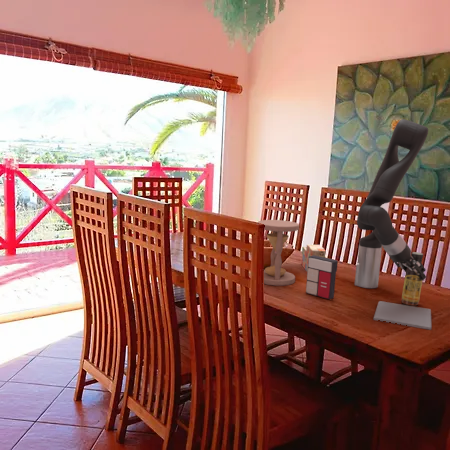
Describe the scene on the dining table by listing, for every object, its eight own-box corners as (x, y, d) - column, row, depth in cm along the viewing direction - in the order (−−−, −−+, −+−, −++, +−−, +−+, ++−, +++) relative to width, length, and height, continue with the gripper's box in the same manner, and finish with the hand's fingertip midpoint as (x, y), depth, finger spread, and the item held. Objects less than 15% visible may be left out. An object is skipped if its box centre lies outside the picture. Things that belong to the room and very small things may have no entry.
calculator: (304, 293, 183) (307, 256, 181) (310, 291, 186) (313, 254, 184) (328, 300, 176) (332, 262, 174) (334, 298, 179) (337, 260, 177)
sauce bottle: (401, 305, 174) (406, 253, 171) (401, 300, 180) (406, 250, 177) (420, 307, 172) (426, 255, 169) (419, 302, 178) (425, 252, 175)
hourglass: (294, 287, 191) (298, 227, 186) (252, 283, 193) (255, 224, 189) (295, 276, 208) (299, 221, 204) (256, 272, 211) (259, 218, 206)
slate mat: (373, 319, 157) (373, 317, 157) (378, 302, 176) (379, 300, 175) (431, 329, 150) (431, 327, 150) (430, 311, 169) (430, 309, 169)
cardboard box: (301, 264, 230) (302, 240, 228) (313, 265, 230) (315, 240, 228) (310, 276, 209) (312, 249, 207) (323, 276, 209) (326, 250, 207)
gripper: (416, 243, 162) (438, 274, 169) (388, 235, 176) (409, 264, 182) (403, 258, 161) (425, 289, 168) (375, 249, 174) (397, 278, 181)
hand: (417, 276), depth 175 cm, fingers closed on sauce bottle, 6 cm apart
